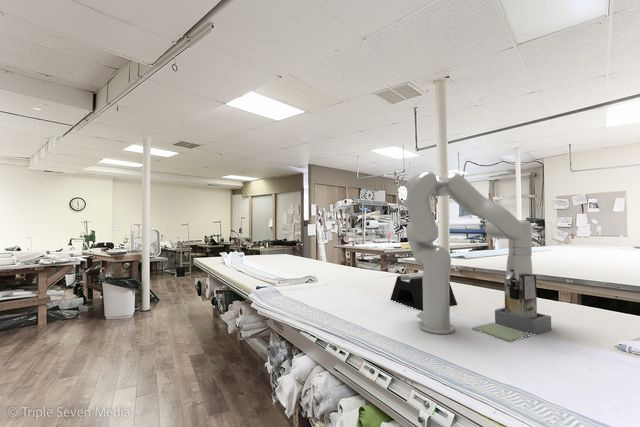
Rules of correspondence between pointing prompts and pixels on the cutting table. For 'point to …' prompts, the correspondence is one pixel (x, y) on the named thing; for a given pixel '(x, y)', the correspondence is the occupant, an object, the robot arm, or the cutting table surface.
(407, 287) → the device stand
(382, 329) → the cutting table surface
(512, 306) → the coffee box
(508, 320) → the grey open frame
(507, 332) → the mat
